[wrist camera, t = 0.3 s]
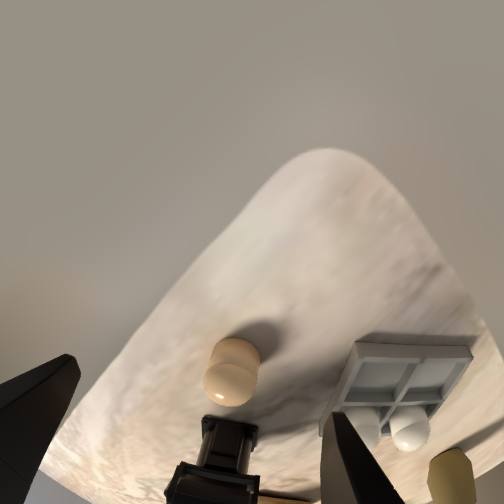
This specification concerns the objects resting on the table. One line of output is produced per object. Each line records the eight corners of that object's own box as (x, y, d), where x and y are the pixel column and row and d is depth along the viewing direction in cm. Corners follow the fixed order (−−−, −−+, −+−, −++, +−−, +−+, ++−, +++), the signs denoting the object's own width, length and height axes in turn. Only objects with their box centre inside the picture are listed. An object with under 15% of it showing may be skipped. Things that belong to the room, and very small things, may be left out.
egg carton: (415, 422, 27) (418, 433, 25) (318, 423, 28) (319, 436, 26) (467, 345, 22) (473, 357, 20) (354, 341, 23) (358, 356, 21)
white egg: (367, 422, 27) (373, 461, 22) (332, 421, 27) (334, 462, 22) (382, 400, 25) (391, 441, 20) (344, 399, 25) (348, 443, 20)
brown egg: (257, 374, 26) (250, 420, 21) (212, 367, 26) (198, 411, 21) (263, 341, 24) (255, 389, 19) (213, 334, 24) (197, 379, 19)
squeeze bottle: (419, 471, 34) (431, 553, 17) (428, 453, 31) (445, 547, 14) (459, 457, 32) (476, 535, 15) (471, 437, 29) (495, 525, 13)
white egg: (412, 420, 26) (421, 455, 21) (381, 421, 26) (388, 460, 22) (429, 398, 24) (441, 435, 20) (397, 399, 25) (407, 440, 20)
